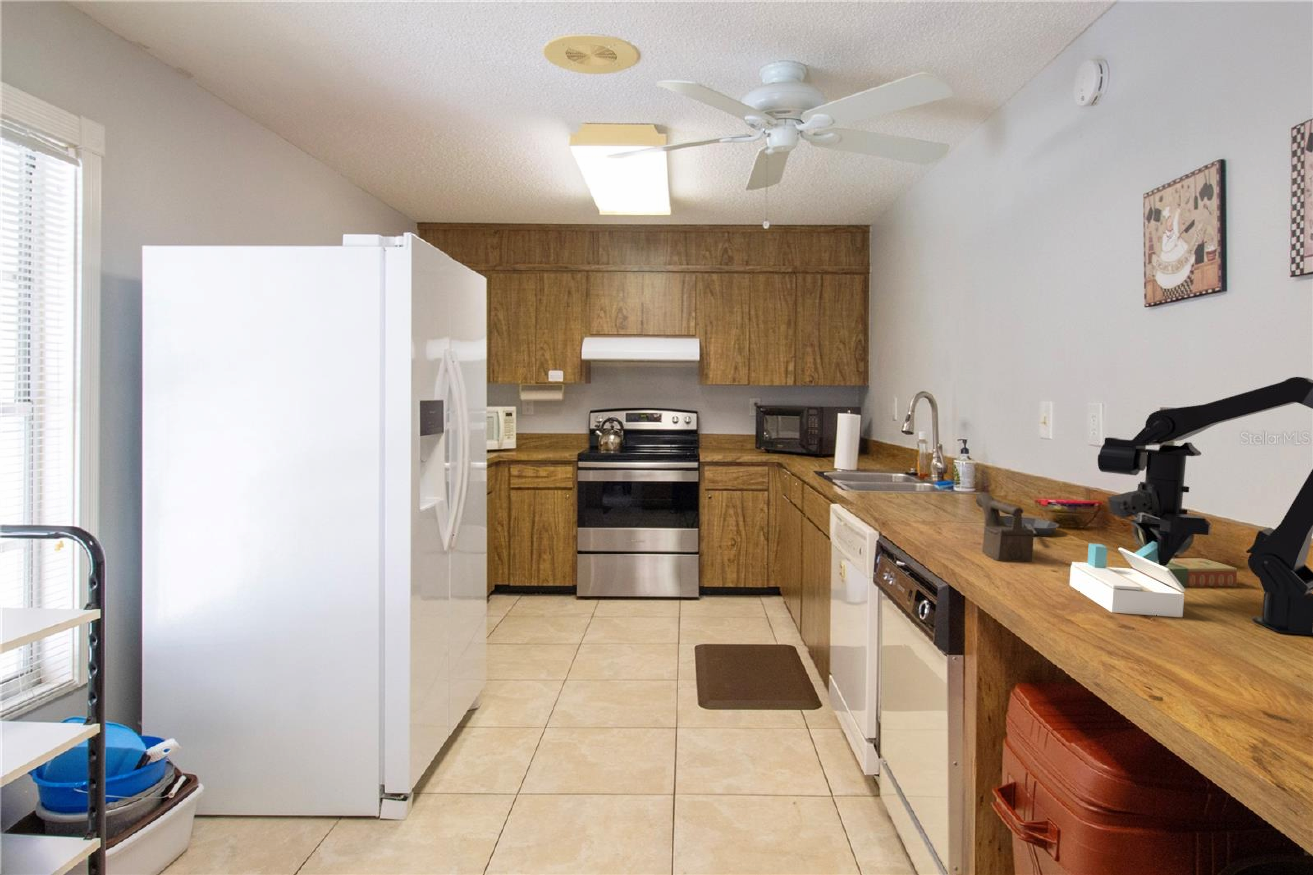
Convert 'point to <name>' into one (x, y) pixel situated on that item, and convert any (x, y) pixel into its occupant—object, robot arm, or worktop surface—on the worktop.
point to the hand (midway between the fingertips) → (1157, 563)
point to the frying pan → (1033, 525)
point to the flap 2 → (1151, 564)
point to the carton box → (1130, 594)
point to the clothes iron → (1004, 531)
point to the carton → (1200, 572)
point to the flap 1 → (1103, 569)
